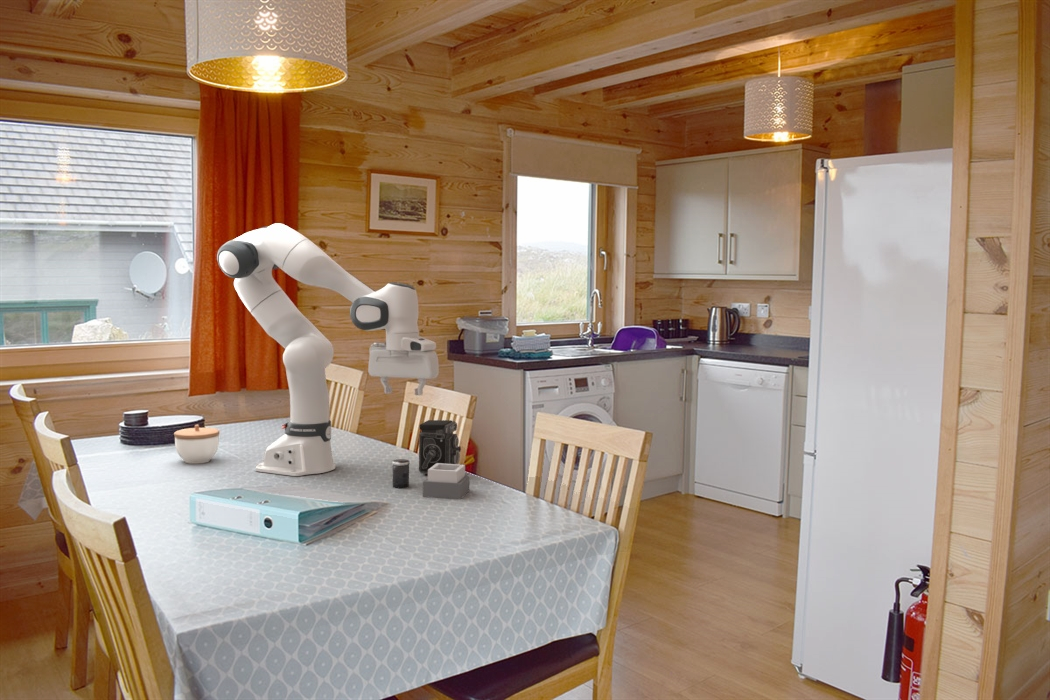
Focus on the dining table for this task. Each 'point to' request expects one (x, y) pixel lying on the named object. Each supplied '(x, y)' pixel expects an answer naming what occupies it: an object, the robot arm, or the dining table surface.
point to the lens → (400, 473)
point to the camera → (438, 444)
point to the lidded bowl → (197, 444)
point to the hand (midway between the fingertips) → (403, 394)
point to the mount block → (446, 481)
